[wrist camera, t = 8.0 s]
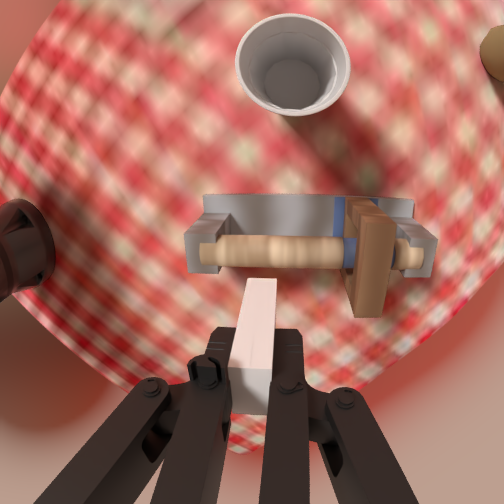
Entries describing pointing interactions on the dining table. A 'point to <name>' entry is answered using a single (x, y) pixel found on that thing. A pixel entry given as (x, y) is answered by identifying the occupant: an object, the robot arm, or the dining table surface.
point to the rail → (296, 234)
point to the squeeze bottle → (494, 52)
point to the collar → (368, 256)
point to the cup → (292, 64)
